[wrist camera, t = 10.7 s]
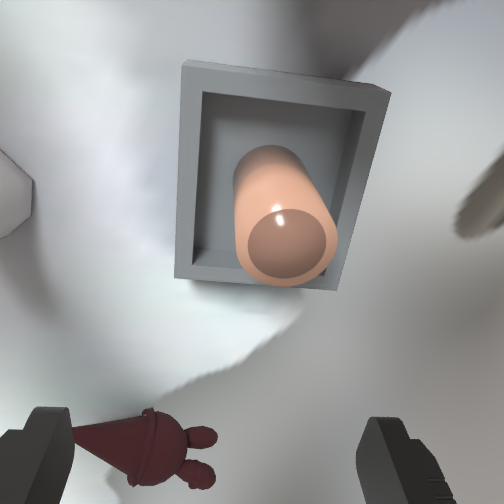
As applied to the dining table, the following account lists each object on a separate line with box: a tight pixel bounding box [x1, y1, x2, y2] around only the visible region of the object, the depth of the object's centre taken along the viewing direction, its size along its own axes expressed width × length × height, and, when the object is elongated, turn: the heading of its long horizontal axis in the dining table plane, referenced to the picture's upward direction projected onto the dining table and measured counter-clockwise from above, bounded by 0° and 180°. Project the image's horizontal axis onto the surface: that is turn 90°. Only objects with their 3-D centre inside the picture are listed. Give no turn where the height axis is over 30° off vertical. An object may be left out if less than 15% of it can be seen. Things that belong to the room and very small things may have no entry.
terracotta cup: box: [233, 145, 338, 287], centre depth 24 cm, size 5×5×9 cm
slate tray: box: [174, 60, 391, 290], centre depth 28 cm, size 14×12×4 cm
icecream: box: [72, 408, 218, 490], centre depth 39 cm, size 7×7×15 cm
